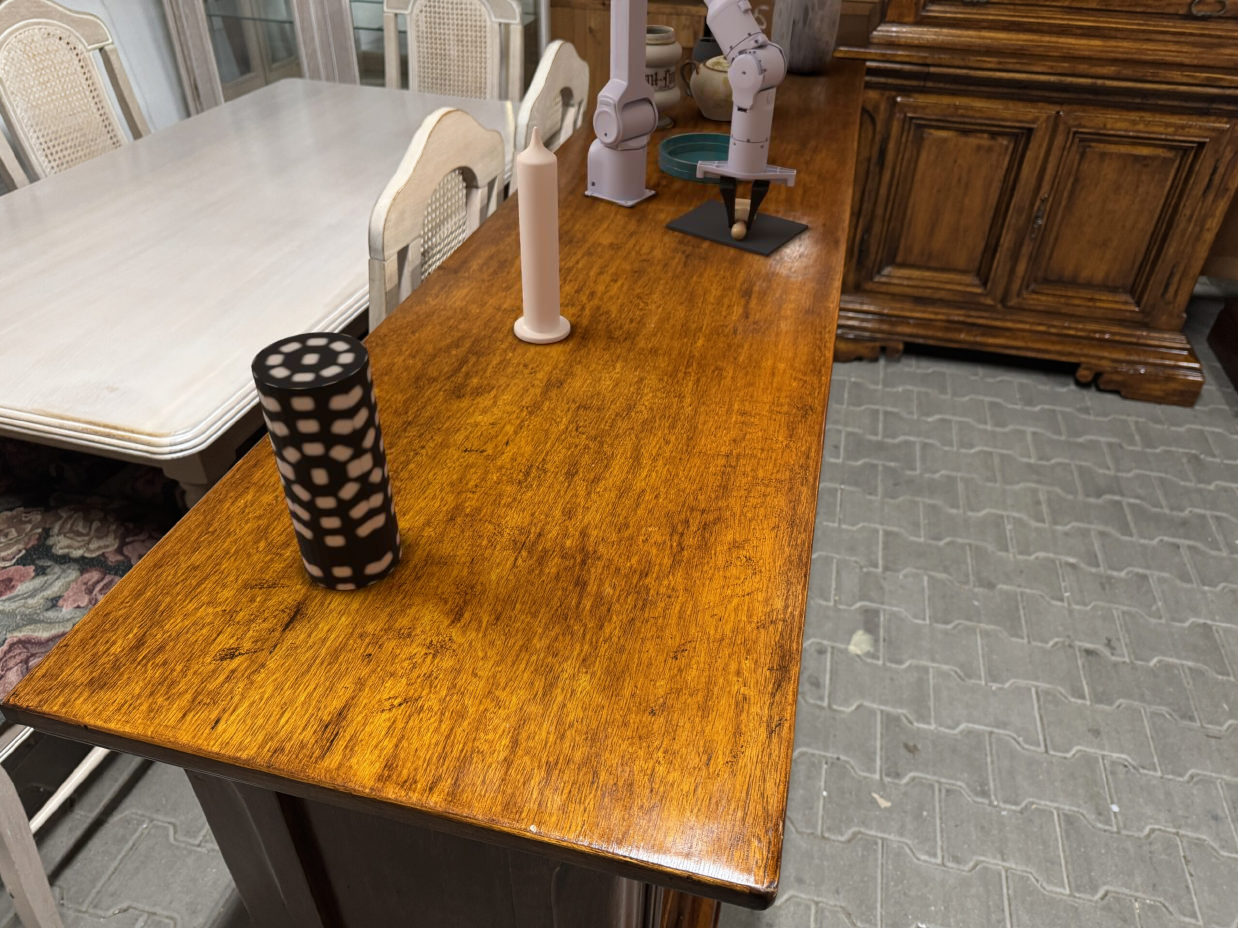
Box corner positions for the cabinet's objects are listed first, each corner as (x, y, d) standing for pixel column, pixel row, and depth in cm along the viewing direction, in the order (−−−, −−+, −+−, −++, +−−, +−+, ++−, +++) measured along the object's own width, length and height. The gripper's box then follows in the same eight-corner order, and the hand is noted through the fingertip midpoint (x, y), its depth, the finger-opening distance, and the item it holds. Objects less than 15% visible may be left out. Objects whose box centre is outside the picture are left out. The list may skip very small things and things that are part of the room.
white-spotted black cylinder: (314, 526, 80) (265, 333, 68) (406, 523, 81) (375, 330, 69) (295, 592, 73) (238, 390, 61) (396, 587, 74) (359, 387, 62)
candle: (527, 349, 107) (517, 140, 92) (505, 324, 112) (493, 121, 97) (579, 337, 109) (579, 132, 94) (556, 313, 114) (552, 114, 99)
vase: (815, 82, 213) (837, -60, 195) (756, 72, 220) (771, -67, 202) (840, 70, 224) (862, -67, 206) (782, 60, 231) (799, -72, 212)
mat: (665, 227, 138) (665, 224, 138) (710, 202, 147) (710, 199, 147) (767, 257, 130) (767, 253, 130) (808, 228, 139) (808, 225, 139)
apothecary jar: (612, 127, 180) (613, 31, 169) (633, 112, 189) (636, 20, 178) (667, 135, 176) (672, 38, 166) (686, 119, 185) (692, 26, 175)
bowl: (637, 170, 159) (638, 151, 157) (692, 144, 172) (694, 126, 170) (729, 194, 151) (731, 174, 149) (780, 165, 163) (783, 146, 161)
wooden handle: (734, 207, 144) (736, 194, 143) (757, 210, 144) (759, 197, 142) (724, 240, 133) (725, 227, 132) (749, 243, 133) (751, 229, 131)
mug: (724, 99, 199) (729, 45, 192) (684, 96, 200) (687, 43, 193) (728, 86, 208) (733, 34, 202) (690, 83, 210) (693, 32, 203)
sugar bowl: (767, 108, 194) (776, 34, 185) (770, 128, 182) (780, 50, 173) (678, 104, 195) (683, 30, 186) (675, 123, 183) (680, 45, 174)
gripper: (802, 133, 129) (789, 222, 137) (704, 124, 131) (697, 212, 139) (799, 147, 123) (786, 239, 131) (697, 138, 126) (690, 229, 134)
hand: (740, 227), depth 135 cm, fingers closed on wooden handle, 2 cm apart
